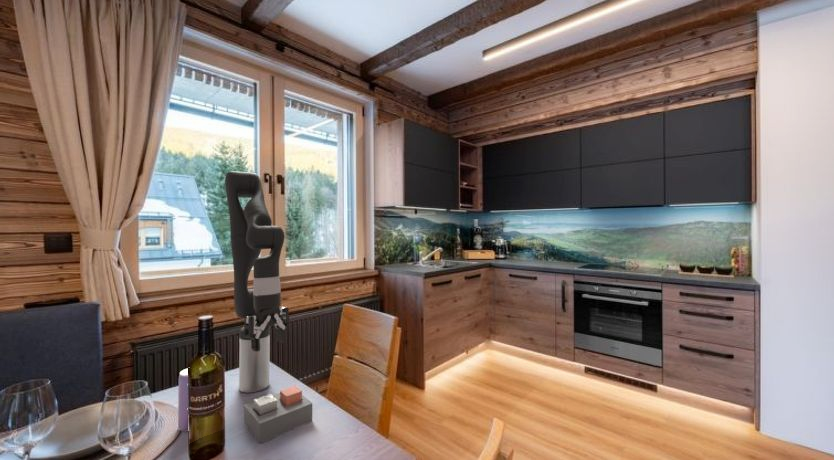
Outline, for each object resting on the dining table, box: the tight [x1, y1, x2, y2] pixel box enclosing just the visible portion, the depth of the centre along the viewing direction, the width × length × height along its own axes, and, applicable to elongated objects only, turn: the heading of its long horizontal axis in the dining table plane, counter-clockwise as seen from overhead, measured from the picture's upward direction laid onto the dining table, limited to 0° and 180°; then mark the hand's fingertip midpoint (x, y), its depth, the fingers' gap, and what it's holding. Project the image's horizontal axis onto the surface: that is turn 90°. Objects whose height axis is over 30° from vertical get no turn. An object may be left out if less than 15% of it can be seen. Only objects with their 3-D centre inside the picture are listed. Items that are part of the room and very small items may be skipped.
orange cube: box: [279, 385, 303, 406], centre depth 93 cm, size 4×4×4 cm
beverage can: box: [177, 367, 189, 433], centre depth 89 cm, size 6×6×15 cm
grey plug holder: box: [243, 392, 313, 444], centre depth 91 cm, size 12×14×5 cm
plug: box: [253, 393, 277, 416], centre depth 88 cm, size 4×4×4 cm
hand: (268, 346), depth 98 cm, fingers open, 8 cm apart
